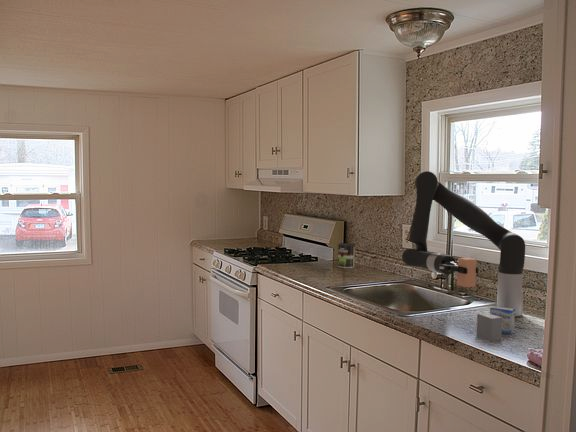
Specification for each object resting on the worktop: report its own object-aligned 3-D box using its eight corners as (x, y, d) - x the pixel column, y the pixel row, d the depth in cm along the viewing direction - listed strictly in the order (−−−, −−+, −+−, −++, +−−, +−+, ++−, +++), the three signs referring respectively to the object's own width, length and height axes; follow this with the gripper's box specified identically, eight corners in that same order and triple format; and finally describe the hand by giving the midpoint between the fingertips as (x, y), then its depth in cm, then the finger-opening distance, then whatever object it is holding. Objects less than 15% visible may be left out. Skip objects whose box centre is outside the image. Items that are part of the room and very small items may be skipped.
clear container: (349, 269, 332) (349, 245, 331) (334, 267, 338) (334, 244, 337) (357, 266, 340) (358, 244, 339) (343, 265, 346) (343, 242, 345)
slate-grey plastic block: (486, 335, 195) (487, 312, 195) (501, 340, 189) (502, 317, 188) (476, 336, 193) (477, 313, 193) (491, 341, 187) (492, 318, 186)
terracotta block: (466, 284, 205) (467, 257, 204) (475, 286, 201) (476, 259, 200) (457, 285, 203) (458, 258, 203) (465, 287, 199) (466, 259, 199)
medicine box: (488, 330, 200) (489, 307, 200) (491, 328, 204) (492, 305, 204) (511, 334, 196) (512, 310, 196) (514, 331, 200) (515, 308, 199)
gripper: (426, 254, 212) (457, 261, 196) (455, 253, 217) (487, 259, 202) (425, 274, 212) (456, 282, 197) (455, 272, 218) (486, 279, 202)
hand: (472, 270), depth 199 cm, fingers closed on terracotta block, 4 cm apart
